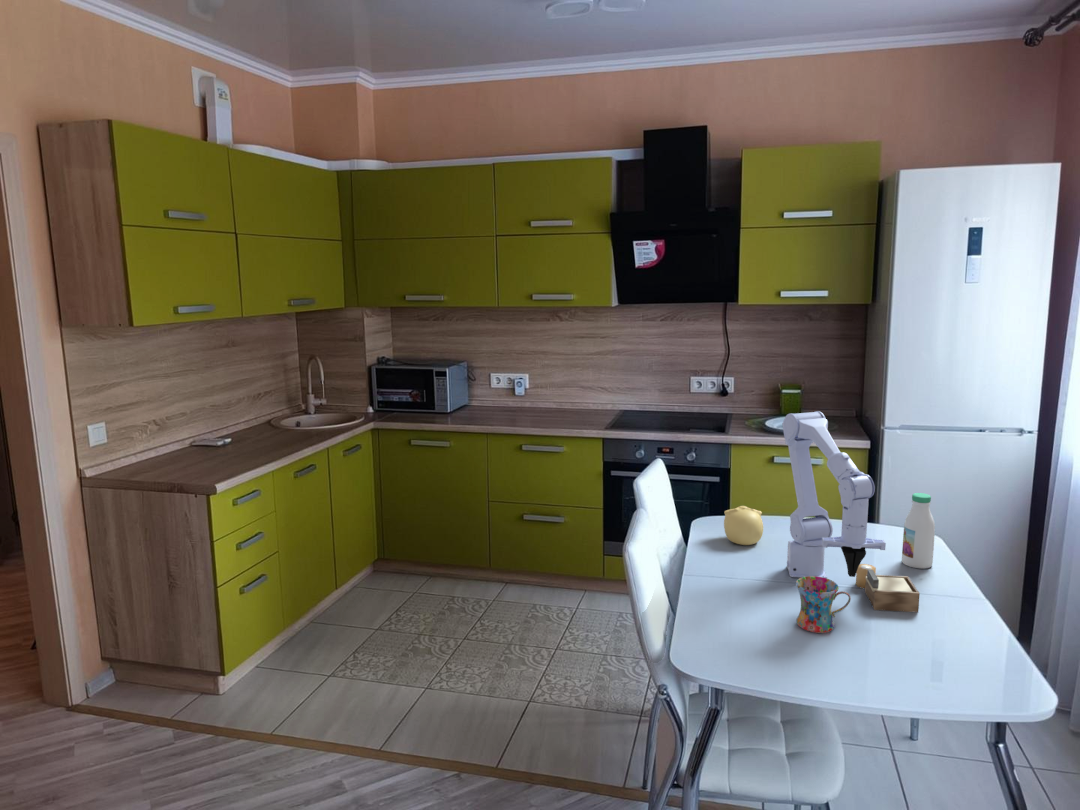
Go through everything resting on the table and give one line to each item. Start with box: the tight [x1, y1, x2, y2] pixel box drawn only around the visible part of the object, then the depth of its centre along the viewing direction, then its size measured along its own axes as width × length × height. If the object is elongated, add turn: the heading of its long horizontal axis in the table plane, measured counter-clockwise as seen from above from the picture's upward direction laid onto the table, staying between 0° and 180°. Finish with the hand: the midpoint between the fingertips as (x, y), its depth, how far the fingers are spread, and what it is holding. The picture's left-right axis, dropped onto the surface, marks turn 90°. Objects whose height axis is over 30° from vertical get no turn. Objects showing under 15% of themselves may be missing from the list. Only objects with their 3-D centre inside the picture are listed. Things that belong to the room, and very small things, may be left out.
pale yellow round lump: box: [723, 505, 764, 546], centre depth 232 cm, size 11×12×11 cm
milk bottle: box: [901, 492, 936, 570], centre depth 211 cm, size 8×8×20 cm
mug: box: [795, 576, 852, 634], centre depth 178 cm, size 12×9×11 cm
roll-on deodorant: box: [855, 563, 877, 590], centre depth 200 cm, size 5×5×5 cm
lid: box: [865, 569, 913, 592], centre depth 190 cm, size 9×8×3 cm
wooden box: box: [864, 574, 921, 613], centre depth 190 cm, size 10×10×5 cm
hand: (851, 575), depth 191 cm, fingers closed
